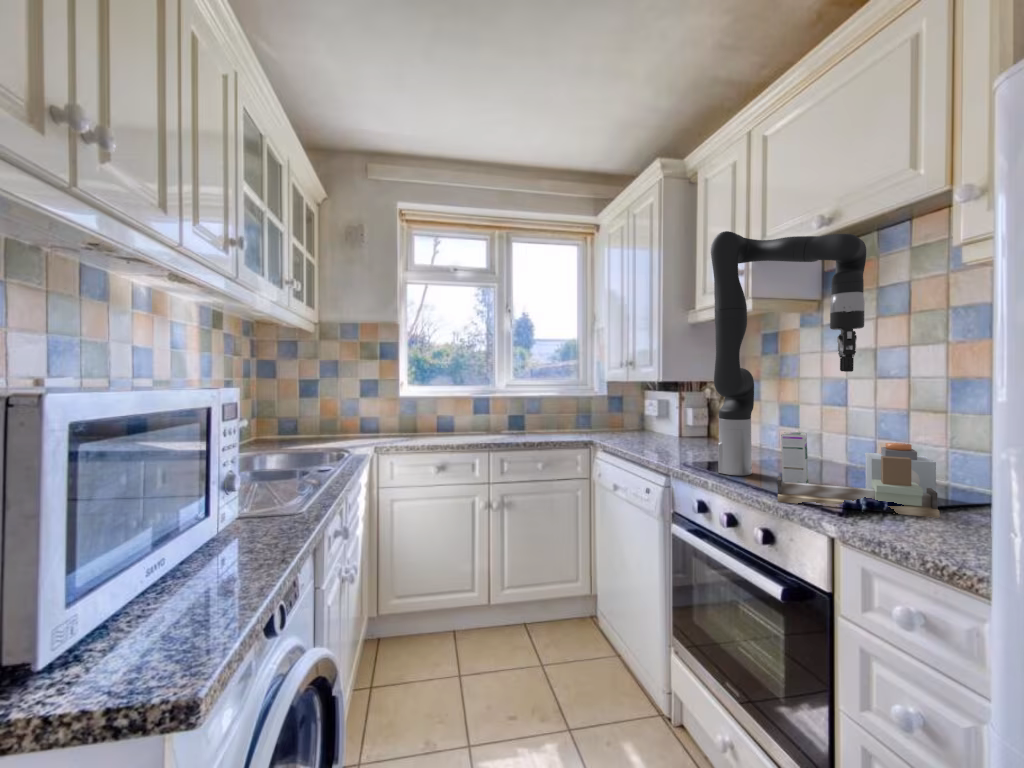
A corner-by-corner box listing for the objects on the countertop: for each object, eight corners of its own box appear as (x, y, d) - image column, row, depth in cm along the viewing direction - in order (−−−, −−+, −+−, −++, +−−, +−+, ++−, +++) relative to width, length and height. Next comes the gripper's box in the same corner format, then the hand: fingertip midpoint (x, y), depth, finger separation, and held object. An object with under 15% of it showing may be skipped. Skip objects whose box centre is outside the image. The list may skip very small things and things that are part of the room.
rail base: (777, 501, 115) (777, 481, 115) (778, 494, 122) (777, 475, 122) (939, 517, 100) (939, 494, 100) (929, 508, 107) (929, 486, 107)
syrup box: (806, 488, 128) (805, 434, 128) (781, 485, 132) (780, 433, 132) (808, 484, 133) (807, 432, 133) (784, 481, 137) (783, 431, 136)
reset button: (887, 456, 116) (887, 444, 116) (883, 453, 120) (883, 442, 120) (913, 458, 114) (913, 446, 114) (909, 454, 118) (909, 443, 118)
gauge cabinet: (872, 500, 115) (872, 451, 115) (865, 490, 125) (865, 445, 124) (937, 506, 109) (936, 454, 109) (924, 495, 119) (924, 447, 118)
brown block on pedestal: (876, 503, 106) (876, 458, 106) (871, 496, 112) (871, 454, 112) (922, 507, 102) (922, 461, 102) (915, 499, 108) (914, 456, 108)
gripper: (828, 314, 135) (827, 371, 135) (832, 309, 122) (831, 371, 123) (860, 312, 131) (860, 371, 131) (868, 307, 119) (867, 371, 119)
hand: (846, 371), depth 127 cm, fingers open, 8 cm apart
